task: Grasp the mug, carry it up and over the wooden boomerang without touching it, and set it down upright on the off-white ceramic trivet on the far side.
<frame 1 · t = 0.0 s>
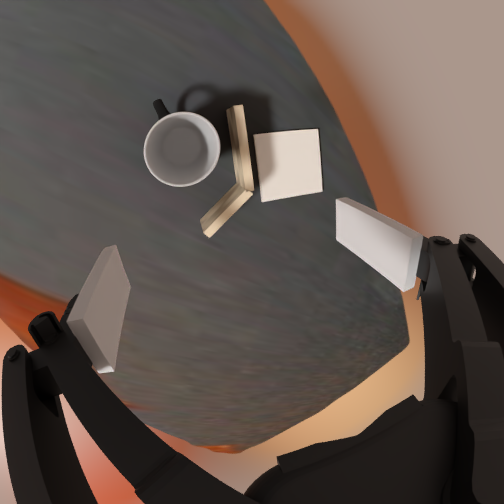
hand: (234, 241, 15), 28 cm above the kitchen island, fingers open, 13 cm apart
trivet: (289, 163, 43), on the kitchen island
wooden boomerang: (235, 146, 39), on the kitchen island
mug: (177, 138, 37), on the kitchen island
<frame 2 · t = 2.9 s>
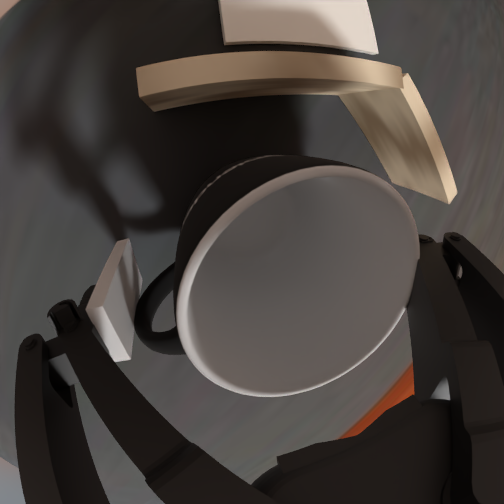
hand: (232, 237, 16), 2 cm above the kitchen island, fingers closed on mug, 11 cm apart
wooden boomerang: (254, 87, 14), on the kitchen island
mug: (224, 226, 17), on the kitchen island, touching gripper
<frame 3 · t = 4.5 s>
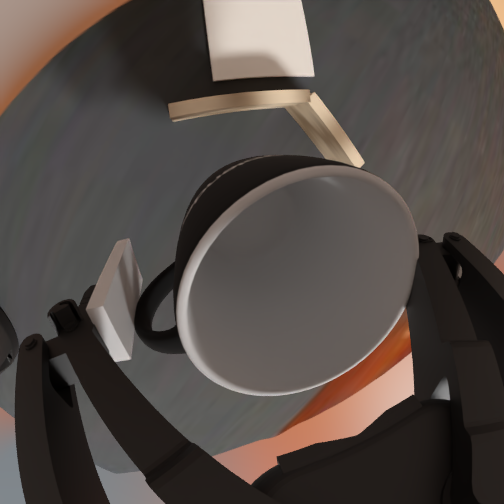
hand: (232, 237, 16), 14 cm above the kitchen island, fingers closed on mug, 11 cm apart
trivet: (258, 33, 22), on the kitchen island
wooden boomerang: (231, 106, 25), on the kitchen island
mug: (224, 226, 17), point 12 cm above the kitchen island, touching gripper
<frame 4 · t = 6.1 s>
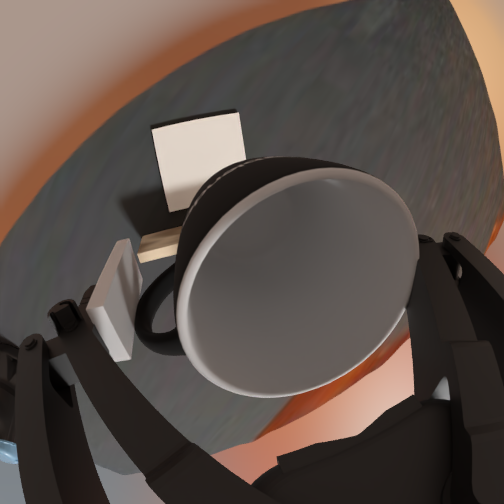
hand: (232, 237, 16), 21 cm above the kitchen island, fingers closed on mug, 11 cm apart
trivet: (202, 161, 33), on the kitchen island
wooden boomerang: (185, 229, 36), on the kitchen island
mug: (224, 227, 17), point 19 cm above the kitchen island, touching gripper
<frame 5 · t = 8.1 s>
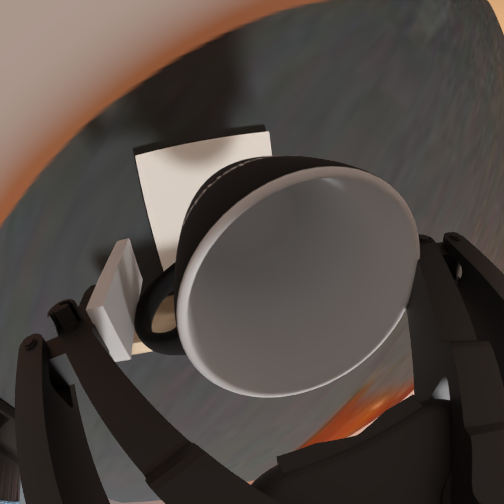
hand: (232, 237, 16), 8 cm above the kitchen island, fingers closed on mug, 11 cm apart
trivet: (212, 203, 23), on the kitchen island
wooden boomerang: (188, 296, 26), on the kitchen island
mug: (224, 227, 17), point 6 cm above the kitchen island, touching gripper
when the fingers open (4 cm above the kitchen island, at t = 9.5 s): mug drops 1 cm, resting on trivet.
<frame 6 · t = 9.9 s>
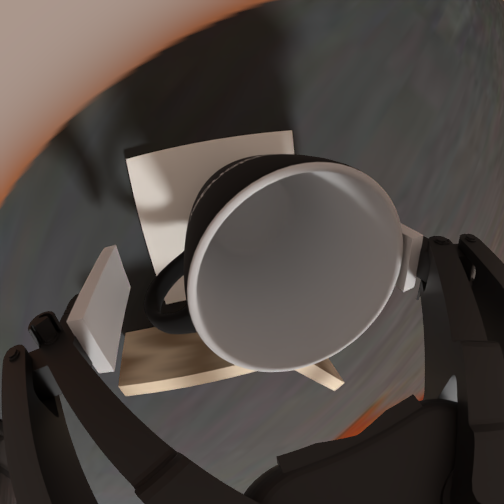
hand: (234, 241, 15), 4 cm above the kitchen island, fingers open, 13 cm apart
trivet: (222, 218, 19), on the kitchen island
wooden boomerang: (193, 324, 22), on the kitchen island
mug: (226, 220, 19), resting on trivet
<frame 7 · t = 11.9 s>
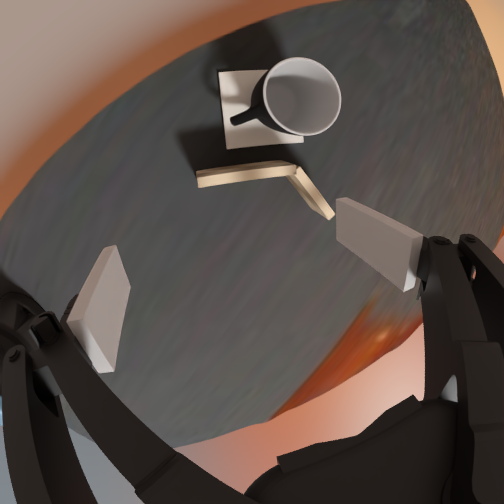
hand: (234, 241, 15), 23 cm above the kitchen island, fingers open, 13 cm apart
trivet: (262, 107, 33), on the kitchen island
wooden boomerang: (239, 168, 36), on the kitchen island
mug: (264, 107, 33), resting on trivet
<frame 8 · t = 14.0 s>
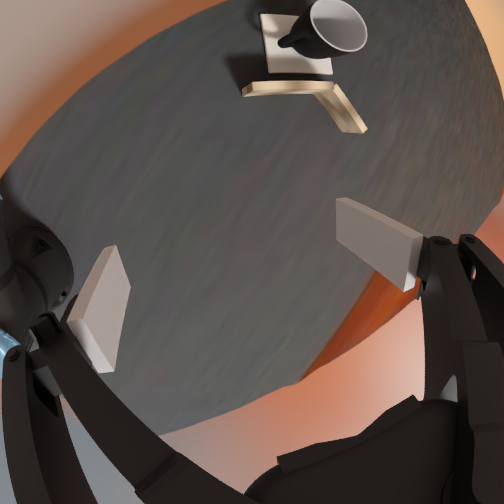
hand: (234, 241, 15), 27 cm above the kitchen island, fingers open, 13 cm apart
trivet: (296, 43, 33), on the kitchen island
wooden boomerang: (280, 90, 36), on the kitchen island
mug: (299, 43, 33), resting on trivet
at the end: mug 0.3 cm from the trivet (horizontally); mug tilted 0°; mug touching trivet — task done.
